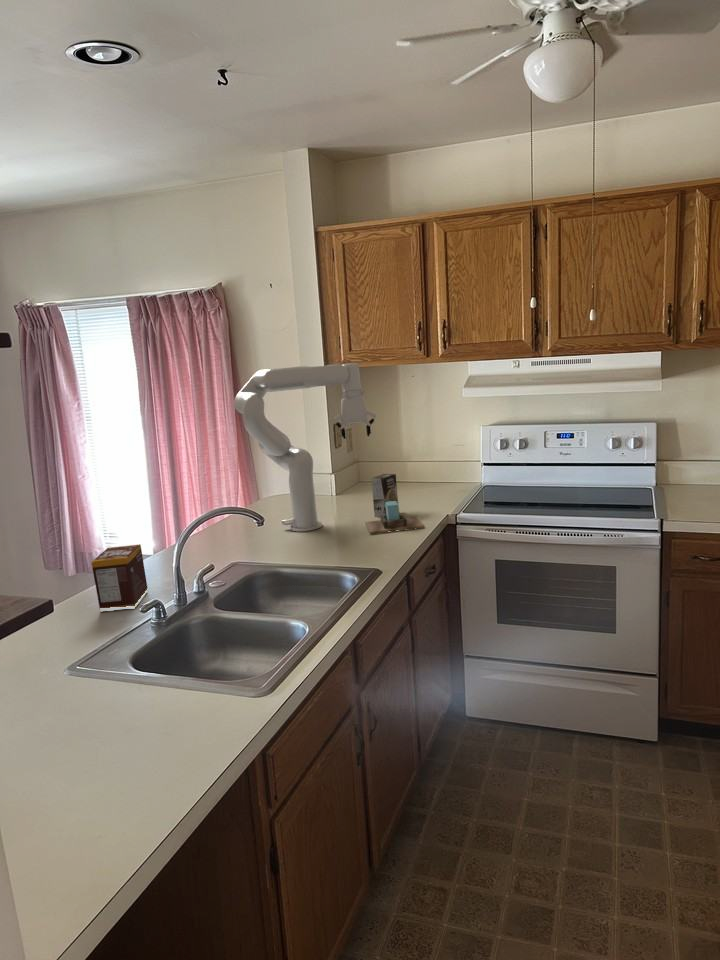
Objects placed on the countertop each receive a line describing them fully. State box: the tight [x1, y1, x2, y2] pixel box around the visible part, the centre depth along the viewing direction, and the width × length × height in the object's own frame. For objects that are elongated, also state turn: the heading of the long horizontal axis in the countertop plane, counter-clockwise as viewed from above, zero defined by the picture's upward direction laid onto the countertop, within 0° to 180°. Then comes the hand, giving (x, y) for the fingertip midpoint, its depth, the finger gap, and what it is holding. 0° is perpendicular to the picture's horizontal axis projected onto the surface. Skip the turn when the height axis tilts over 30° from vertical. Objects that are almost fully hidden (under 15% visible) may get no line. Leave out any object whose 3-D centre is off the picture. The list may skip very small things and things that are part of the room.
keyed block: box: [385, 501, 400, 521], centre depth 272 cm, size 7×4×8 cm, turn 5°
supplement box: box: [91, 544, 148, 609], centre depth 215 cm, size 10×15×16 cm
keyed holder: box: [365, 512, 424, 535], centre depth 273 cm, size 20×16×4 cm
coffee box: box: [370, 473, 400, 518], centre depth 291 cm, size 9×6×16 cm
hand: (356, 437), depth 290 cm, fingers open, 9 cm apart
